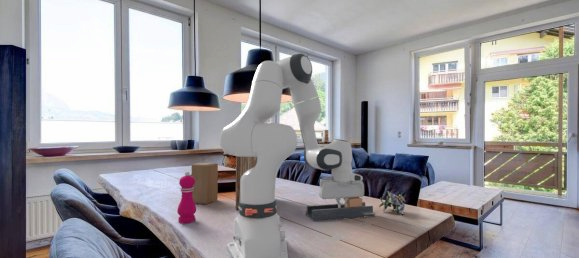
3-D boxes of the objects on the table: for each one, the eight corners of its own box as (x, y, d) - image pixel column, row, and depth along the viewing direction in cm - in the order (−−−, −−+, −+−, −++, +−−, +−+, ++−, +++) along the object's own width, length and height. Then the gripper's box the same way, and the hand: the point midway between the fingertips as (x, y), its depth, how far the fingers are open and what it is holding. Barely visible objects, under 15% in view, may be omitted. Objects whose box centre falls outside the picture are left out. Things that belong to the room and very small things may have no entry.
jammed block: (349, 213, 113) (349, 199, 113) (344, 210, 118) (344, 196, 118) (362, 212, 115) (362, 198, 115) (356, 209, 120) (356, 196, 120)
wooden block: (190, 203, 134) (190, 164, 134) (202, 198, 143) (202, 162, 144) (207, 204, 131) (207, 164, 131) (218, 200, 141) (218, 162, 141)
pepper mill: (190, 216, 112) (190, 170, 112) (199, 220, 107) (200, 171, 108) (173, 221, 106) (174, 171, 107) (183, 225, 102) (183, 173, 102)
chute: (313, 221, 107) (313, 211, 107) (306, 214, 116) (306, 205, 116) (374, 216, 114) (374, 206, 114) (362, 209, 123) (362, 201, 123)
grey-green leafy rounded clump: (401, 227, 116) (406, 209, 109) (375, 219, 120) (379, 202, 113) (403, 207, 124) (408, 190, 117) (379, 200, 128) (382, 183, 121)
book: (253, 211, 120) (254, 146, 121) (235, 209, 123) (235, 145, 123) (271, 198, 145) (271, 143, 145) (255, 197, 147) (255, 143, 148)
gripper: (322, 178, 110) (322, 211, 110) (366, 176, 115) (366, 208, 115) (317, 176, 116) (317, 207, 116) (358, 174, 121) (358, 204, 121)
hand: (341, 207), depth 115 cm, fingers closed
